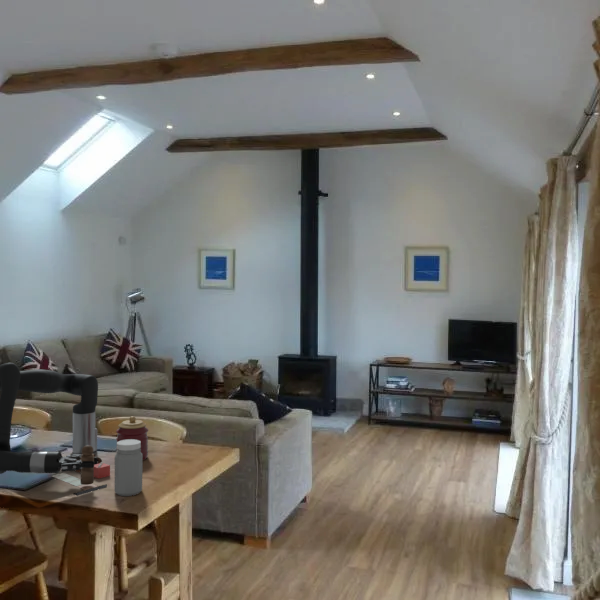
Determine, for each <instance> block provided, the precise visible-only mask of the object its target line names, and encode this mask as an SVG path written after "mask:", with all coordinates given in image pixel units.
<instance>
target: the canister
mask: <svg viewBox="0 0 600 600" xmlns="http://www.w3.org/2000/svg"><path fill="white" fill-rule="evenodd" d="M146 426H147V423H146V422H144V421H143V420H141V419H136V417H135V416H133V415H132V416H130V417H129V418H128V419H127V420H123V421H122V422H121V423H119V424H118V427H119V428H117V429H116V431H115V432H116V433H117V437H116V440H115V441H116V443H117V442H118V441H121V440H126V439H135V440H139V441H141V448H140V449H141V451H140V452H141V453H142V456H143V459H142V461H145V460H146V458H148V457H149V456H148V455H149V450H148V449H149V444H148V443H149V440H148V439H149V436H148V432H149V428H147V427H146ZM117 450H118V449H117V448H116V453H117ZM116 453H115V454H116Z"/></svg>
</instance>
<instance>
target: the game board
mask: <svg viewBox="0 0 600 600" xmlns="http://www.w3.org/2000/svg"><path fill="white" fill-rule="evenodd" d="M52 477H53V478H55V479H57V480H60V481H62V482H65V483H67V484H69V485H72V486H75V487H77V488H80V489H82V490H80V491H77V492H73V493H72V494H73V495H74V494H75V495H74V496H77V497H78V496H81V495H84V494H88V493H92V492H95V491H98V489H99V490H102V489H106V488H107V486H108V485H107V484H102V485H99V486H98V485H97V484H94V483H92V484H88V485H83V484H81V479H80V478H78V477H76V476H73V475H70V474H68V473H66V472H62V473H56V474H54V475H53V474H52V475H51V478H52ZM91 491H92V492H91Z"/></svg>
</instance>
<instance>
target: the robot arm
mask: <svg viewBox="0 0 600 600" xmlns="http://www.w3.org/2000/svg"><path fill="white" fill-rule="evenodd" d="M0 391H1V393H0V475H2V474H4V473H6V472H12V471H13V472H16V473H29V474H31V473H34V474H60V472H62V473H65V472H70V471H71V472H72V471H76V470H80V469H82V468H93V467H94V464H96V463H98V462H97V457H98V456H95V457H94V461H81V460H80V459H81V455H82V448H83V447H84V446H86V445H90V446H92V447H93V453H95V452H96V451H98V428H96V407H97V405H98V397H99V383H98V379H97V377H96V376H95V375H92V374H86V373H85V374H82V373H72V374H66V373H65V374H64V373H60V372H58V371H55V370H50V369H26V370H20V368H19V366H18V365H17V364H15V363H13V362H5V363H2V364H0ZM18 391H22V392H29V393H40V394H55V393H59V392H60V393H67V394H71V395H74V396H80V402H79V403H76V404H74V405H73V406H72V453H70V455H66V456H63V454H62V452H61V451H51V450H50V451H24V452H23V451H22V452H17V451H11V432H12V431H11V430H12V429H11V428H12V418H13V412H14V408H15V403H16V401H17V397H18Z"/></svg>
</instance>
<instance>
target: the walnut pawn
mask: <svg viewBox="0 0 600 600" xmlns="http://www.w3.org/2000/svg"><path fill="white" fill-rule="evenodd" d="M94 454H95V453H94V452H93V447H92V446H90V445H86V446H84V447H83V448H82V455H81V461H94ZM94 479H95V477H94V467H93V468H82V469H81V472H80V480H81V484H83V485H88V484H94Z"/></svg>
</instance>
